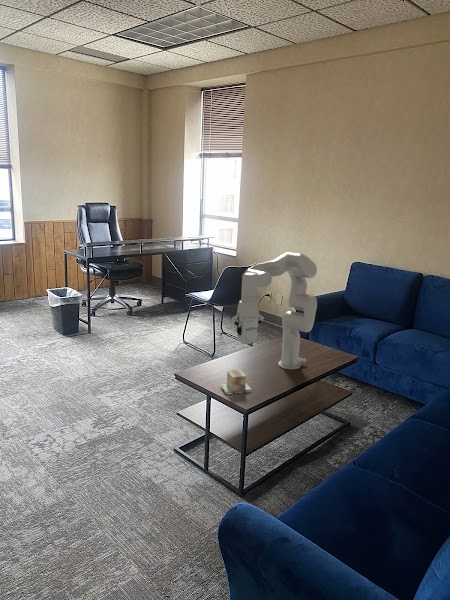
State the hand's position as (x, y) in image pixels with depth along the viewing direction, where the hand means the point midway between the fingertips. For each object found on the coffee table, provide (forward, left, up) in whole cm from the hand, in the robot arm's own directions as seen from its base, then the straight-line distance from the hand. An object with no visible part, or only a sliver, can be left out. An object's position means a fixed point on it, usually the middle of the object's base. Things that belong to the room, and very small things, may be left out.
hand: (247, 333), depth 227 cm
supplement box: (0, 0, -4) cm, 4 cm away
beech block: (+5, 0, -27) cm, 27 cm away
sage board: (+5, 0, -29) cm, 29 cm away
